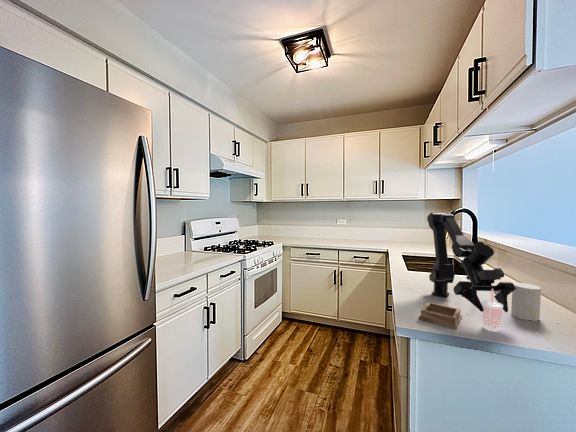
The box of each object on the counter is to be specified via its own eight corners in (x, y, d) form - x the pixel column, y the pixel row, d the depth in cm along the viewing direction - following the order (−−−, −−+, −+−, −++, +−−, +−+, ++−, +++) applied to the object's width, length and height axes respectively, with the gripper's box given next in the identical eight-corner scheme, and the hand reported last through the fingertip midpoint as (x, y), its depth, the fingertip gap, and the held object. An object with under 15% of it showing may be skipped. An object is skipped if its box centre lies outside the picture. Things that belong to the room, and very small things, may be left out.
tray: (427, 309, 108) (427, 301, 108) (461, 318, 100) (462, 309, 100) (418, 319, 99) (418, 310, 99) (456, 329, 91) (456, 319, 91)
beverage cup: (504, 328, 92) (505, 289, 91) (500, 334, 88) (501, 293, 87) (482, 322, 96) (484, 285, 95) (478, 328, 92) (479, 288, 91)
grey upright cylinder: (529, 322, 97) (531, 290, 96) (505, 313, 104) (507, 283, 104) (545, 319, 99) (546, 288, 98) (520, 311, 107) (522, 281, 106)
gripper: (458, 259, 95) (477, 300, 85) (513, 260, 94) (539, 302, 84) (446, 275, 103) (462, 314, 93) (496, 275, 102) (517, 315, 92)
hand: (494, 311), depth 90 cm, fingers open, 8 cm apart
